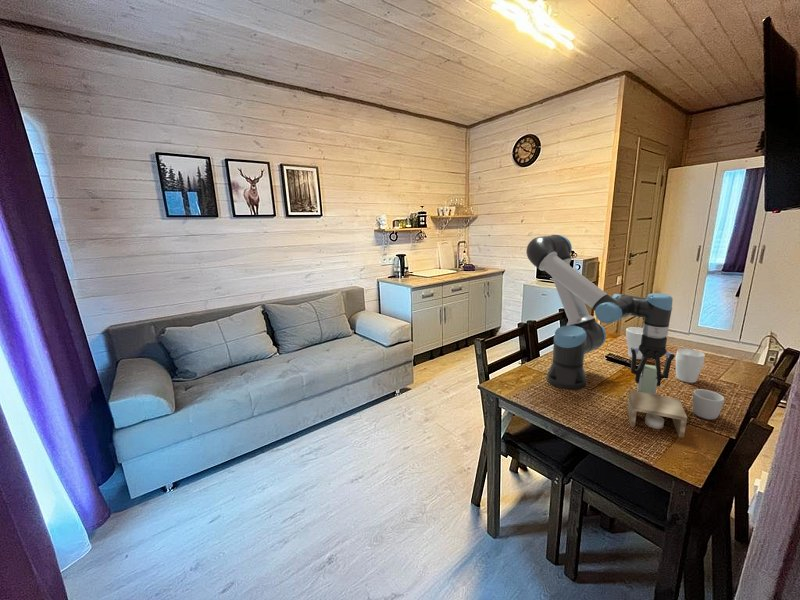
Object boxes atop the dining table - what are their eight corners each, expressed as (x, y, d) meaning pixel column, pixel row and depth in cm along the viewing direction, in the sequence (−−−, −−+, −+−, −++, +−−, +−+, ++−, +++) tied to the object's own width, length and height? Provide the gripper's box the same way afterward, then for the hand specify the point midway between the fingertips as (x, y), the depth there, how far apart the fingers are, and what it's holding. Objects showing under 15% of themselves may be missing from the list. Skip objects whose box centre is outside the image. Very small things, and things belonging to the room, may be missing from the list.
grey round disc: (645, 426, 112) (646, 420, 112) (644, 418, 117) (645, 412, 116) (664, 430, 110) (665, 424, 109) (662, 422, 114) (663, 416, 113)
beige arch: (630, 426, 113) (632, 406, 111) (627, 408, 123) (629, 390, 121) (683, 437, 106) (687, 417, 104) (675, 417, 116) (679, 398, 114)
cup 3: (689, 403, 124) (692, 383, 122) (718, 410, 119) (723, 389, 117) (689, 417, 116) (693, 396, 114) (721, 425, 111) (725, 403, 109)
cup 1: (617, 354, 167) (620, 328, 164) (633, 351, 170) (636, 326, 167) (637, 362, 158) (641, 335, 154) (654, 359, 161) (658, 332, 157)
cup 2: (705, 384, 136) (710, 357, 133) (680, 383, 138) (684, 356, 135) (691, 374, 145) (696, 348, 142) (667, 373, 146) (671, 347, 143)
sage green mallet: (646, 417, 116) (651, 388, 113) (638, 389, 134) (642, 364, 131) (661, 420, 114) (666, 391, 111) (651, 391, 132) (655, 365, 129)
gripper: (628, 335, 126) (620, 391, 132) (686, 341, 118) (675, 401, 124) (626, 329, 132) (619, 383, 138) (681, 334, 124) (671, 391, 130)
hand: (646, 391), depth 131 cm, fingers closed on sage green mallet, 4 cm apart
